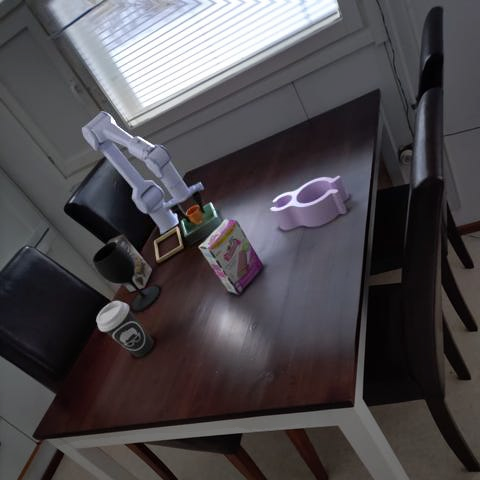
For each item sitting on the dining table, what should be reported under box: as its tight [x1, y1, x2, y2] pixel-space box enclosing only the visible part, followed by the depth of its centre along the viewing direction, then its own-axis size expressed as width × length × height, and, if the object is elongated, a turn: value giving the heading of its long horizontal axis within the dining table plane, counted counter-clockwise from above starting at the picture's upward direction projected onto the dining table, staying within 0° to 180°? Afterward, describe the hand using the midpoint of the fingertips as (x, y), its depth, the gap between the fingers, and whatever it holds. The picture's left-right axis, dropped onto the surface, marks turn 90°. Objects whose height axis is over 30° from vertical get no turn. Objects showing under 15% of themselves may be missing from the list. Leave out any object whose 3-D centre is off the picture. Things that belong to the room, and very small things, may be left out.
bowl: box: [185, 204, 204, 224], centre depth 152 cm, size 5×5×4 cm
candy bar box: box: [197, 218, 265, 296], centre depth 118 cm, size 11×5×16 cm, turn 135°
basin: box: [180, 202, 222, 246], centre depth 154 cm, size 13×13×4 cm
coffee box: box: [106, 234, 153, 293], centre depth 147 cm, size 9×6×16 cm
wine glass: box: [92, 242, 160, 312], centre depth 137 cm, size 10×10×20 cm
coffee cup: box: [95, 300, 154, 358], centre depth 120 cm, size 10×10×15 cm
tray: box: [153, 226, 184, 264], centre depth 159 cm, size 15×10×2 cm
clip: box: [270, 175, 350, 231], centre depth 126 cm, size 20×12×7 cm, turn 74°
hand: (196, 216), depth 153 cm, fingers closed on bowl, 5 cm apart
